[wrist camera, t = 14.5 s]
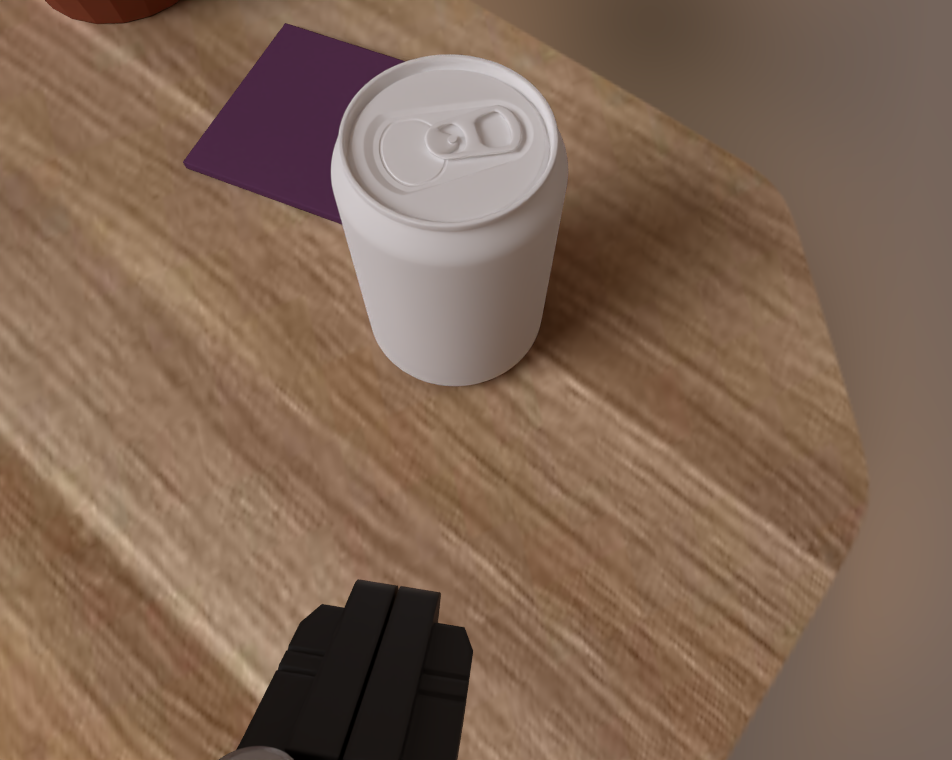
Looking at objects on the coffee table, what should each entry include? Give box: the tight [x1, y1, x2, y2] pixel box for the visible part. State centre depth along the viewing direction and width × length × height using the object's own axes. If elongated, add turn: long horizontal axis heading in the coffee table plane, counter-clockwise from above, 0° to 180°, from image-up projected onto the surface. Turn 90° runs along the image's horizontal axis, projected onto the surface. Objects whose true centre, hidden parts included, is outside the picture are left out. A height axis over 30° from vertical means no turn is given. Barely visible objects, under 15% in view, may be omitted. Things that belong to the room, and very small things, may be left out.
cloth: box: [183, 23, 406, 224], centre depth 38 cm, size 12×11×1 cm
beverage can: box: [331, 55, 568, 386], centre depth 28 cm, size 8×8×12 cm
